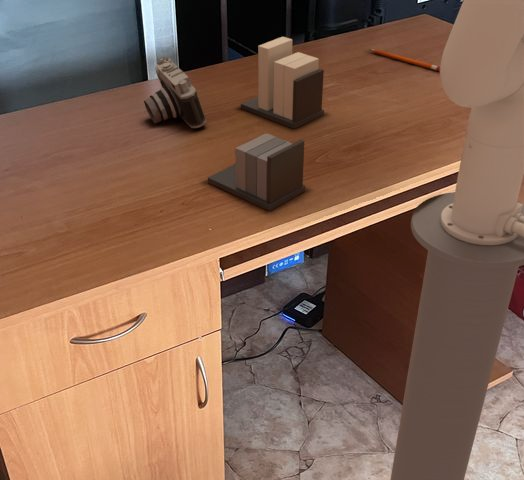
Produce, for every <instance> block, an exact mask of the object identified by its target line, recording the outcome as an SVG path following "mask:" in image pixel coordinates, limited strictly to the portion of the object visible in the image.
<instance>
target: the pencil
mask: <svg viewBox="0 0 524 480" xmlns="http://www.w3.org/2000/svg"><path fill="white" fill-rule="evenodd" d="M368 50H369V51H370V52H372V53H373V54H377V55H380V56H384V57H388V58H390V59H394V60H398V61H401V62H404V63H405V62H406V63H409V64H412V65H416V66H419V67H423V68H427V69H430V70H433V71H438V72H440V65H439V66H438V65H434V64H431V63H427V62H425V61H421V60H416V59H413V58H410V57H406V56H402V55H398V54H394V53H392V52H388V51H384V50H380V49H376V48H369V49H368Z"/></svg>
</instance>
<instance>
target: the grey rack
mask: <svg viewBox="0 0 524 480" xmlns="http://www.w3.org/2000/svg"><path fill="white" fill-rule="evenodd" d="M234 150H235V151H234V152H235V156H234V157H235V158H234V159H235V163H234V164H232V165H230V166H228V167H226V168H224V169H222V170H220V171H218V172H216V173H214V174H212V175H209V176H208V177H207V183H208V184H209V185H212V186H215V187H217V188H219V189H221V190H223V191H225V192H227V193H229V194H231V195H234V196H235V197H238V198H241V199H242V200H245V201H247V202H249V203H251V204H253V205H255V206H258V207H260V208H262V209H264V210H266V211H268V212H270V211H273V210H274V209H276V208H277V207H279V206H281V205H283V204H284V203H286V202H288V201H290V200H291V199H294V198H295V197H297V196H299V195H301V194H302V193H304V192H305V191H306V185H305V184H304V164H305V163H304V162H305V161H304V160H305V140H303V139H300V140H299V139H298V140H297V141H295V142H294V143H292V142H291V141H287V140H285V139H282V138H280V137H277V136H275V135H273V134H270V133H268V132H267V133H264V134H262V135H259V136H258V137H255V138H253V139H252V140H249V141H247V142H245V143H243V144H241V145H239V146H236V147H235V149H234Z"/></svg>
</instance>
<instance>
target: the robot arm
mask: <svg viewBox="0 0 524 480" xmlns="http://www.w3.org/2000/svg"><path fill="white" fill-rule="evenodd" d="M439 67H440V71H439V80H440V84H441V88H442V91H443V92H444V95H445V96H446V98H448V100H449V101H451V102H452V103H453V104H455V105H456V106H459V107H462V108H471V109H470V112H469V116H468V121H467V125H466V130H465V135H464V140H463V145H462V153H461V158H460V162H459V167H458V173H457V178H456V184H455V190H454V192H455V195H454V201H453V203H452V204H450V205H448V206H447V207H445V208H444V209H443V211H442V213H441V218H440V222H441V226H442V227H443V229H444V230H445V231H446V232H447V233H448V234H450V235H451V236H453V237H455V238H457V239H459V240H461V241H464V242H467V243H471V244H477V245H489V246H490V245H500V244H505V243H508V242H510V241H512V240H514V239H515V238H516V237H518V235H520V236H523V237H524V216H523V214H521V210H522V206H523V204H524V203H522V204H520V203H521V202H520V203H518V202H519V201H518V200H519V195H520V191H521V188H522V183H523V178H524V0H463V1H462V3H461V5H460V8H459V10H458V13H457V16H456V18H455V21H454V22H453V26H452V28H451V31H450V33H449V36H448V37H447V41H446V43H445V46H444V48H443V52H442V54H441V58H440V64H439Z"/></svg>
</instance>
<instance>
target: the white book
mask: <svg viewBox="0 0 524 480" xmlns="http://www.w3.org/2000/svg"><path fill="white" fill-rule="evenodd" d="M257 48H258V50H257V51H258V53H257V56H258V57H257V63H258V64H257V65H258V66H257V67H258V68H257V75H258V77H257V80H258V81H257V83H258V85H257V89H258V90H257V91H258V92H257V94H258V95H257V97H258V108H261V109H264V110H266V111H269V110H271V109H273V100H274V62H275V61H277V60H280V59H282V58H285V57H287V56H290V55H292V54H293V39H292V38H289V37H287V36H281V37H277V38H275V39H273V40H270V41H267V42H265V43H262V44H259V45H258V46H257Z"/></svg>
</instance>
